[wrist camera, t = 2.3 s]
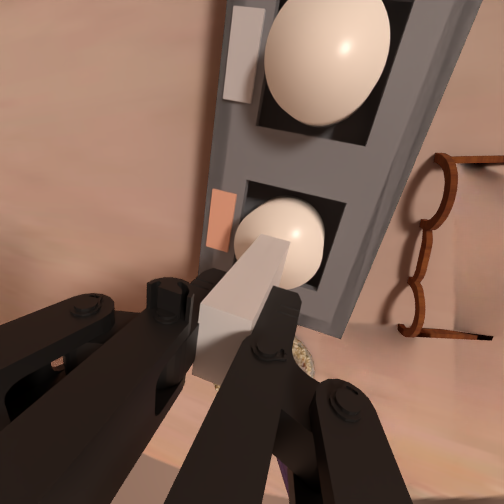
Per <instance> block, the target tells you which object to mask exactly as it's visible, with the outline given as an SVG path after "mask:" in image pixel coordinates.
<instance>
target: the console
mask: <svg viewBox="0 0 504 504" xmlns="http://www.w3.org/2000/svg"><path fill="white" fill-rule="evenodd" d="M287 1H288V0H227V6H226V16H225V25H224V35H223V44H222V53H221V63H220V72H219V82H218V91H217V101H216V110H215V119H214V129H213V138H212V148H211V157H210V167H209V176H208V185H207V195H206V204H205V214H204V223H203V233H202V242H201V251H200V261H199V270H198V276H199V275H200V274H201V273H202V272H203V271H206V270H209V269H211V268H216V269H219V270H222V271H225V272H228V271H229V270H230V269H231V268H232V266H233V265H234V264H235V263H236V262H237V259H236V255H235V250H234V238H235V234H236V231H237V228H238V227H239V225H240V223H241V222H242V220H243V219H244V218H245V217H246V216H247V215H248V214H250V213H251V212H252V211H254V210H255V209H256V208H258V207H259V206H260V205H262V204H263V203H264V202H266V201H267V200H269V199H271V198H274V197H277V196H295V197H298V198H301V199H303V200H305V201H307V202H308V203H310V204H311V205H312V206H313V207H314V208H315V209H316V210H317V211H318V213H319V214H320V216H321V218H322V221H323V224H324V228H325V237H324V246H323V255H322V260H321V264H320V266H319V268H318V270H317V272H316V273H315V275H314V276H313V277H312V278H311V279H310V280H309V281H307V282H306V283H305V284H303V285H301V286H299V287H296V288H293V289H287V290H289V291H293V292H296V293H298V294H299V296H300V299H301V301H302V304H301V309H300V313H299V318H298V323H297V325H300V326H303V327H306V328H309V329H312V330H315V331H318V332H321V333H324V334H327V335H330V336H333V337H336V338H339V339H341V338H342V335H343V333H344V331H345V328H346V326H347V324H348V321H349V319H350V316H351V314H352V312H353V309H354V307H355V304H356V302H357V300H358V297H359V295H360V292H361V290H362V288H363V285H364V283H365V280H366V278H367V276H368V273H369V271H370V268H371V266H372V264H373V261H374V259H375V257H376V254H377V252H378V249H379V247H380V245H381V242H382V240H383V237H384V235H385V233H386V230H387V228H388V225H389V223H390V221H391V218H392V216H393V213H394V211H395V209H396V206H397V204H398V202H399V199H400V197H401V194H402V192H403V190H404V187H405V185H406V182H407V180H408V178H409V175H410V173H411V170H412V168H413V166H414V163H415V161H416V158H417V156H418V154H419V151H420V149H421V146H422V144H423V142H424V139H425V137H426V135H427V132H428V130H429V127H430V125H431V123H432V120H433V118H434V115H435V113H436V111H437V108H438V106H439V103H440V101H441V99H442V96H443V94H444V91H445V89H446V87H447V84H448V82H449V80H450V77H451V75H452V72H453V70H454V68H455V65H456V63H457V60H458V58H459V56H460V53H461V51H462V48H463V46H464V44H465V41H466V39H467V36H468V34H469V32H470V29H471V27H472V24H473V22H474V20H475V17H476V15H477V13H478V10H479V8H480V5H481V3H482V1H483V0H382V2H383V4H384V6H385V9H386V12H387V15H388V19H389V25H390V46H389V52H388V56H387V60H386V64H385V66H384V69H383V72H382V74H381V76H380V78H379V80H378V82H377V83H376V85H375V86H374V88H373V89H372V91H371V93H370V94H369V96H368V97H367V99H366V100H365V102H364V103H363V104H362V106H361V107H360V108H359V109H358V110H357V111H356V112H355V113H354V114H353V115H352V116H350V117H349V118H347V119H346V120H344V121H343V122H340V123H338V124H336V125H333V126H329V127H311V126H307V125H305V124H302V123H301V122H299V121H297V120H296V119H295V118H293V117H292V116H291V115H289V114H288V113H287V112H286V111H284V110H283V109H282V108H281V107H280V106H279V104H278V103H277V102H276V100H275V99H274V97H273V96H272V94H271V92H270V89H269V87H268V84H267V80H266V75H265V67H264V56H265V47H266V43H267V38H268V35H269V32H270V29H271V27H272V24H273V22H274V20H275V18H276V16H277V15H278V13H279V11H280V10H281V8H282V7H283V6H284V4H285V3H286V2H287Z"/></svg>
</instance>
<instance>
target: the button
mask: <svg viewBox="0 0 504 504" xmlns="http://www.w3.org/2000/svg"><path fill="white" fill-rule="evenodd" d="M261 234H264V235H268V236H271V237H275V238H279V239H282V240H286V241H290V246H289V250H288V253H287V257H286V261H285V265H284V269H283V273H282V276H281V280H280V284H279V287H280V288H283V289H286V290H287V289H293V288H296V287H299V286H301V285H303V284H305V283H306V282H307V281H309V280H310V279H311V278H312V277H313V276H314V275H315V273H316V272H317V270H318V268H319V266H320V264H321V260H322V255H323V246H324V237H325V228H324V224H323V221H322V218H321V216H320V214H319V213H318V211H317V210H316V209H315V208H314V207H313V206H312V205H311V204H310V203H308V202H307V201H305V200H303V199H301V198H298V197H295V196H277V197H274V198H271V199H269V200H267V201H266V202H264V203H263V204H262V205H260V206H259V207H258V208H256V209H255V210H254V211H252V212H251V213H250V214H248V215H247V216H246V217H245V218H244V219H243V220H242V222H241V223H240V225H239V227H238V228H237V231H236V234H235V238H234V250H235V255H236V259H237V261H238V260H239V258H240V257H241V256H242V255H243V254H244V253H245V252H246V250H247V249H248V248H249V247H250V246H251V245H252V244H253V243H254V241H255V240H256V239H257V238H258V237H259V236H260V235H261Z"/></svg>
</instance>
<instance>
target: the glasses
mask: <svg viewBox="0 0 504 504" xmlns="http://www.w3.org/2000/svg"><path fill="white" fill-rule="evenodd" d="M434 162H435V163H437V164H439V165H440V166H441V168H442V170H443V172H444V177H445V186H444V193H443V198H442V201H441V204H440V207H439V209H438V211H437V212H436V214H435V215H434V216H433V217H432V218H431V219H430V220H427V219H421V222H420V227H421V228H422V229H423V236H422V244H421V248H420V253H419V257H418V262H417V267H416V271H415V273H414V276H413V277H409V278H408V282H407V283H408V284H409V285H410V287H411V288H412V290H413V293H414V298H415V316H414V320H413V323H412V325H411V327H410V328H406V327H405V325H404V324H398V328H397V330H398V331H399V332H400V333H401V334H402V335H403V336H405V337H430V338H451V339H471V340H492V339H493V336H486V335H479V334H472V333H465V332H457V331H450V330H443V329H425V328H422V326H423V323H424V318H425V299H424V292H423V288H422V285H421V284H420V282H421V281H422V279H423V278H424V276H425V273H426V270H427V266H428V261H429V257H430V253H431V249H432V243H433V235H432V230H436V229H437V228H439V227H440V226H441V225H442V223H443V222H444V221H445V220H446V218H447V217H448V215H449V213H450V211H451V209H452V207H453V204H454V200H455V197H456V192H457V184H458V172H457V167H456V164H455V163H499V162H504V156H455V157H451V156H449V155H448V154H446V153H435V158H434Z"/></svg>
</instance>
